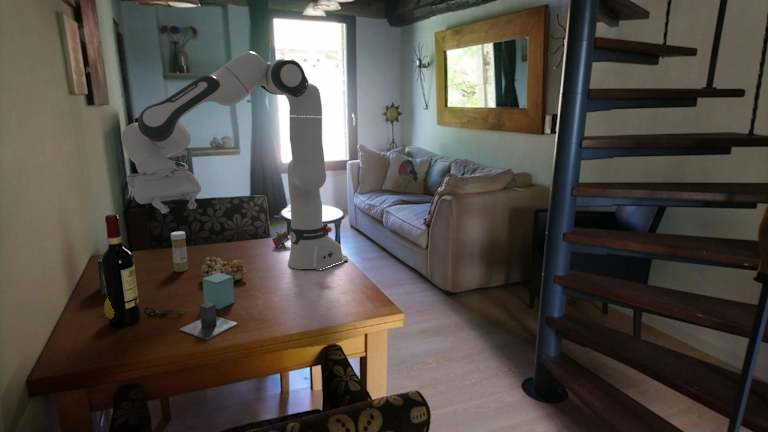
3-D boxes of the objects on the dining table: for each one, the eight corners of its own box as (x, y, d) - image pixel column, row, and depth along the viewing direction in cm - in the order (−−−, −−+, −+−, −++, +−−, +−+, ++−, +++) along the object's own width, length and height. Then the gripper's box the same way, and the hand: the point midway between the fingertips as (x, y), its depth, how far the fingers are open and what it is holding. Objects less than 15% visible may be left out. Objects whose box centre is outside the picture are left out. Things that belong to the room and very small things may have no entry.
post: (211, 315, 126) (209, 294, 125) (237, 324, 122) (236, 302, 120) (179, 330, 118) (177, 307, 116) (206, 340, 113) (205, 316, 112)
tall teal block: (220, 298, 138) (218, 272, 136) (234, 302, 135) (232, 276, 134) (204, 304, 133) (202, 278, 131) (218, 309, 130) (217, 282, 129)
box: (122, 292, 141) (118, 258, 139) (100, 295, 139) (96, 261, 136) (123, 283, 148) (120, 251, 146) (103, 286, 146) (99, 253, 143)
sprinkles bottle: (185, 267, 164) (182, 230, 161) (189, 270, 161) (187, 233, 158) (172, 269, 162) (168, 232, 159) (175, 273, 158) (172, 235, 155)
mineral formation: (215, 291, 143) (188, 277, 152) (251, 286, 154) (224, 273, 162) (218, 266, 142) (191, 253, 151) (254, 263, 153) (227, 251, 161)
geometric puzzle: (273, 246, 184) (283, 228, 186) (265, 242, 189) (275, 225, 191) (286, 254, 189) (296, 237, 190) (278, 249, 194) (288, 233, 196)
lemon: (112, 317, 124) (109, 289, 122) (133, 316, 125) (130, 288, 123) (101, 326, 119) (98, 297, 117) (124, 326, 119) (121, 296, 118)
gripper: (128, 167, 127) (152, 208, 124) (190, 163, 144) (213, 199, 142) (118, 181, 130) (142, 221, 127) (181, 176, 147) (203, 211, 145)
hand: (180, 209), depth 135 cm, fingers open, 8 cm apart
